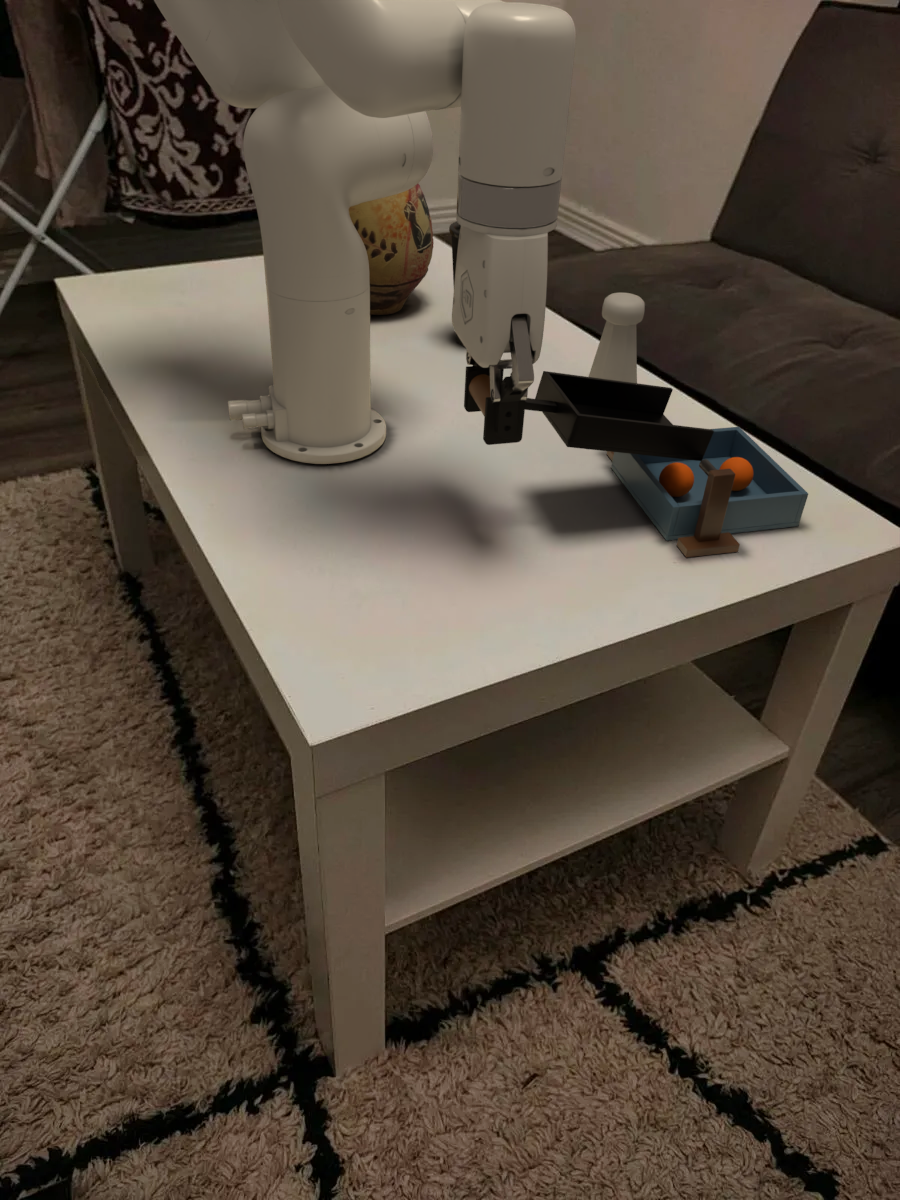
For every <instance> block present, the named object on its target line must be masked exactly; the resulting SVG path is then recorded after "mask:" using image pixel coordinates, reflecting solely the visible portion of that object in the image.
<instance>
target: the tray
mask: <svg viewBox="0 0 900 1200" xmlns="http://www.w3.org/2000/svg"><path fill="white" fill-rule="evenodd" d="M711 429H712V430H713V431H714V433H713V435H712V438H711V440H710V442H709V445H708V447H707V450H706V452H705V454H704V457H703V459H702V460H704V459H707V460H708V461H709V462H710V463H711V464H712V465H713V466H714V467H715V468H716V469H717V470H719V469H720V467H721V465H722V464H723V463H724V462H725V461H726V460H728V459H730V458H733V457H740V458H744V459H745V460H747V461H748V462H749V463H750V464H751V466H752V468H753V473H754V474H753V479H752V481H751V483H750V484H749V486H747V487H746V488H745V489H743V490H740V491H731V494H730V498H729V502H728V506H727V510H726V514H725V518H724V522H723V526H722V530H721V533H728V532H729V533H730V534H731V535H733V534H740V533H749V532H757V531H758V532H759V531H766V530H775V529H776V530H777V529H785V528H794V527H795V528H796V527H799V526H800V522H801V520H802V516H803V513H804V509H805V506H806V502H807V500H808V496H809V492H808V491H807V490H805V489H804V488H803V487H802V486H801V484H799V483H798V482H797V481H796V480H795V479H794V478H793V477H792V476H791V475H790V474H789V473H788V472H787V471H786V470H785V469H784V468H783V467H781V466H780V465H779V464H778V463H777V462H776V461H775V460H774V459H773V458H772V457H771V456H770V455H769V453H768V452H766V451H765V450H764V449H763V448H762V447H761V446H759V444H758V443H757V442H756V441H754V440H753V438H752V437H750V435H748V434H747V433H746V432H745V431H744V430H743V429H742V428H741V427H740V426H732V427H731V426H730V427H720V428H719V427H718V428H711ZM677 462H678V463H683V464H685V465H687V466H688V467H689V468H690V469H691V470H692V472H693V475H694V484H693V486H692V488H691V490H690V491H689V492H688V493H687V494H685V495H683V496H680V497H672V496H670V495H669V493H668V492H667V491H666V490H665V488H664V487H663V486H662V485H661V484H660V482H659V476H660V473H661V471H662V470H663V469H664V468H665V467H666V466H667V465H669V464H671V463H677ZM700 462H701V461H696V460H686V459H677V458H667V457H658V456H648V455H639V454H629V453H620V452H614V455H613V461H612V460H611V470H612V471H613V472H614V474H615V475H616V477H617V478H618V479H619V481H620V482H621V483H622V484H623V486H624V487H625V488H626V490H627V491H628V492H629V494H630V495H631V497H632V498H633V499H634V500H635V502H636V503H637V504H638V505H639V507H640V508H641V510H643V512H644V514H645V515H646V516H647V517H648V518H649V520H650V521H651V522H652V524H653V525H654V527H655V528H656V529H657V530H658V532H659V533H660V534H661V536H662V537H663V538H664V540H665V541H676V540H677V541H678V538H682V537H691V536H694V534H695V530H696V525H697V521H698V517H699V512H700V508H701V504H702V500H703V495H704V491H705V487H706V482H707V478H708V476H707V475H706V473H705V472H704V471H703V470H702V469H701V468H700V467H699V464H700Z"/></svg>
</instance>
